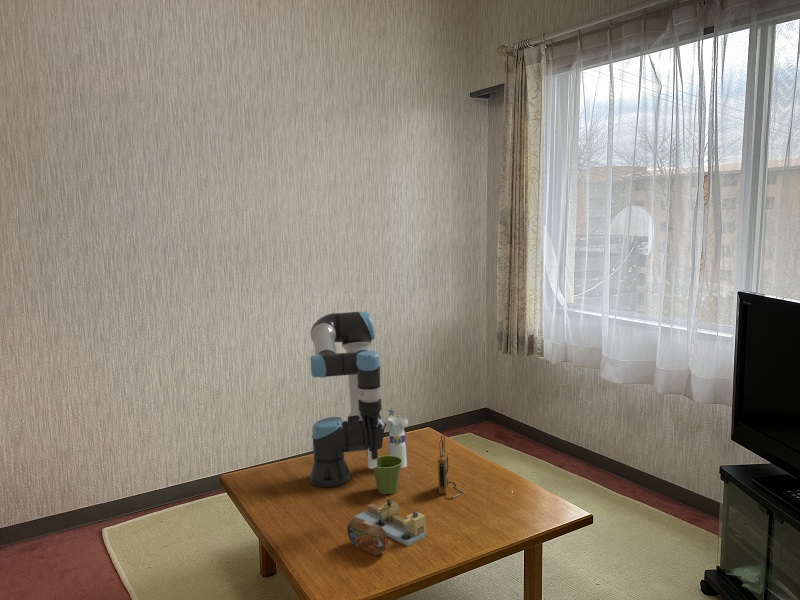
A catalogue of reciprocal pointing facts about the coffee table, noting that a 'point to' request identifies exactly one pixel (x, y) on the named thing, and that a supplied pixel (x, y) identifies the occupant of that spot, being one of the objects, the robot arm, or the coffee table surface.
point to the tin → (367, 536)
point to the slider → (387, 511)
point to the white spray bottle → (397, 437)
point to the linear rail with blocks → (398, 525)
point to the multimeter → (444, 472)
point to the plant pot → (387, 474)
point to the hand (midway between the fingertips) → (372, 467)
